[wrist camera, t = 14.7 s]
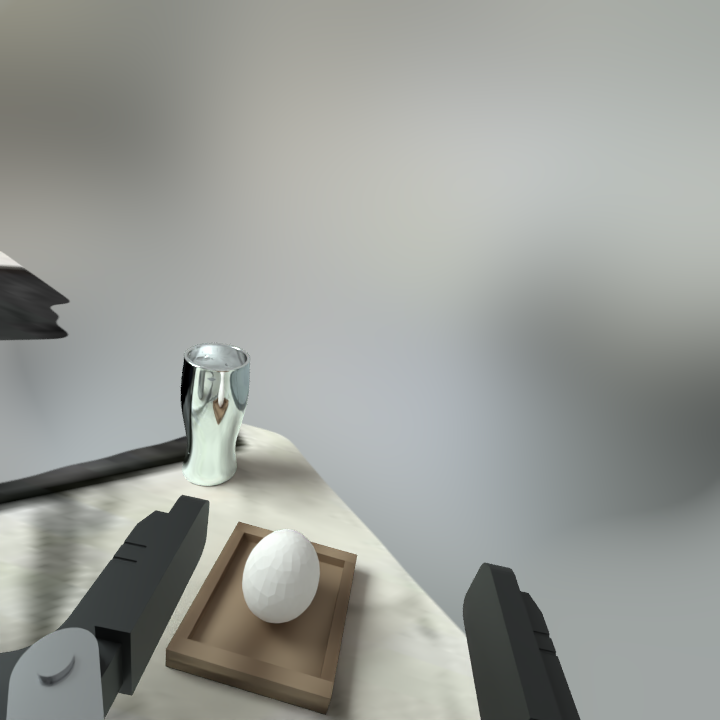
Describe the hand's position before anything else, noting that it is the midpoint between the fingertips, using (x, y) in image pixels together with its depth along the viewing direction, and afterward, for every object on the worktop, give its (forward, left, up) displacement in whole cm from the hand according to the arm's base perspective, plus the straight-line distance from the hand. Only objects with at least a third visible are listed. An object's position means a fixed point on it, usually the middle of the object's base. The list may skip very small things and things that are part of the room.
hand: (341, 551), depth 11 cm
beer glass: (-17, +28, -25) cm, 41 cm away
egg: (-4, +14, -24) cm, 27 cm away
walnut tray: (-4, +14, -24) cm, 28 cm away
